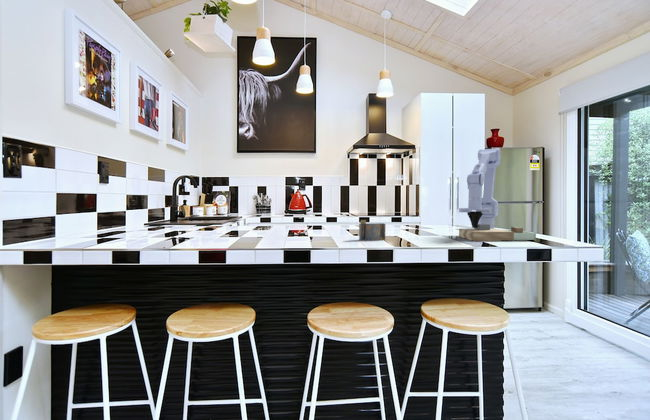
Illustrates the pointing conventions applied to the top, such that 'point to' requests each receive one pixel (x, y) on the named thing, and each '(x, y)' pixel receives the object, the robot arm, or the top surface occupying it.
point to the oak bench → (486, 234)
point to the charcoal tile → (483, 227)
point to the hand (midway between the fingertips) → (474, 227)
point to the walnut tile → (517, 229)
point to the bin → (524, 236)
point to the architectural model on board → (371, 231)
